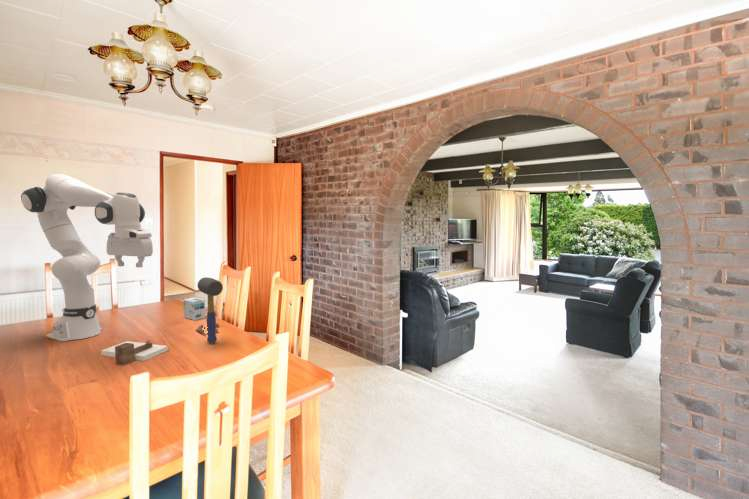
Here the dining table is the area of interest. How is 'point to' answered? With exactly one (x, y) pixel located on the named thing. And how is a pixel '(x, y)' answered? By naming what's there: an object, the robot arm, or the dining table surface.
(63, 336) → the robot arm
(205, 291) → the rubber mallet
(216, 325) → the wooden fragment
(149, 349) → the board
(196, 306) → the light bulb box
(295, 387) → the dining table surface
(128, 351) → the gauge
